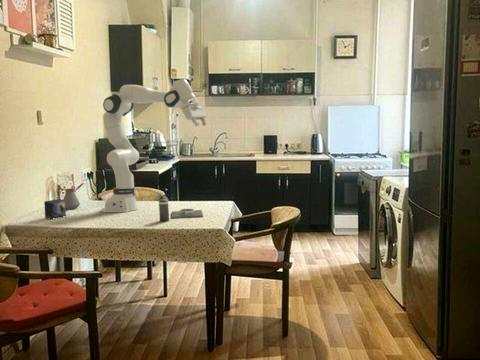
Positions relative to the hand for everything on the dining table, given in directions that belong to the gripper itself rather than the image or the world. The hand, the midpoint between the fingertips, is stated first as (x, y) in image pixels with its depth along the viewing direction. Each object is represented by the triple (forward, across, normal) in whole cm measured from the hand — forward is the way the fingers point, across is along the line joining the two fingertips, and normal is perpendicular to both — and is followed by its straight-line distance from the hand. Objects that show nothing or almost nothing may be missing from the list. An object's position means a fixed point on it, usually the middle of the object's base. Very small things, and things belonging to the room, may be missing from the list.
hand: (201, 125), depth 282 cm
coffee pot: (+4, +1, -109) cm, 109 cm away
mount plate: (+43, +4, -32) cm, 54 cm away
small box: (+10, +32, -98) cm, 104 cm away
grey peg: (+40, +22, -37) cm, 59 cm away
